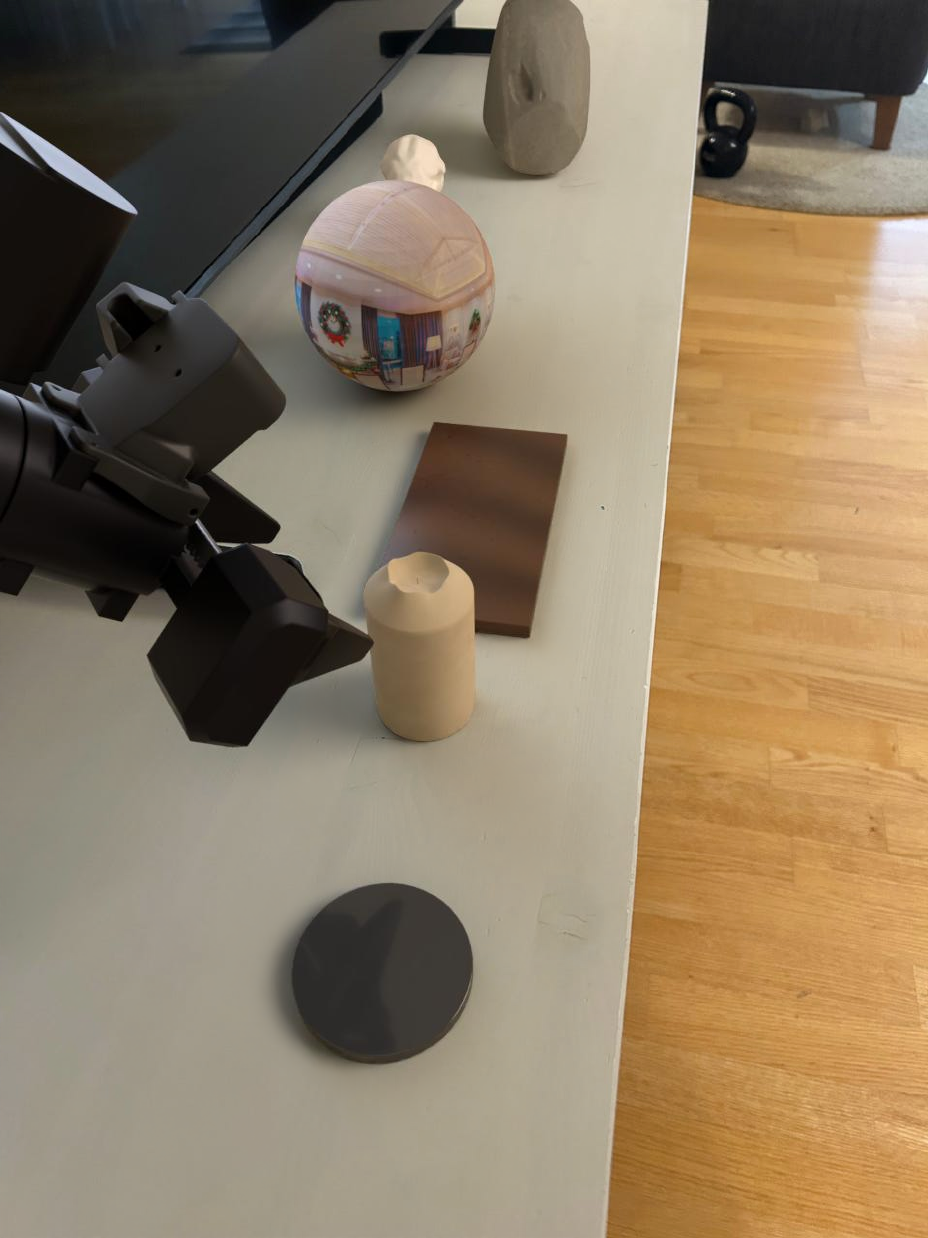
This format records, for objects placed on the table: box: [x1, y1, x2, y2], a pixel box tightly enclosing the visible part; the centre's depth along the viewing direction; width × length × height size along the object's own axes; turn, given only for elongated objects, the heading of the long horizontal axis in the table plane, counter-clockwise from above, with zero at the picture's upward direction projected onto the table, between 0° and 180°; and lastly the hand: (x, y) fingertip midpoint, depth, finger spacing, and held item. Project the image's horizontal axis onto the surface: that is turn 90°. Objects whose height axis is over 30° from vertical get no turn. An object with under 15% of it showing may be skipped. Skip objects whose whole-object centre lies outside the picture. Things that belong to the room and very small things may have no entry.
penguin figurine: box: [379, 133, 446, 193], centre depth 94 cm, size 6×8×12 cm
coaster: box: [290, 882, 474, 1064], centre depth 43 cm, size 8×8×1 cm
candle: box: [362, 552, 476, 742], centre depth 51 cm, size 6×6×10 cm
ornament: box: [294, 179, 496, 392], centre depth 74 cm, size 15×15×15 cm
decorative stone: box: [482, 0, 591, 176], centre depth 107 cm, size 12×17×15 cm
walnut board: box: [379, 421, 569, 639], centre depth 65 cm, size 20×10×1 cm, turn 169°
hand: (318, 587), depth 44 cm, fingers open, 9 cm apart
